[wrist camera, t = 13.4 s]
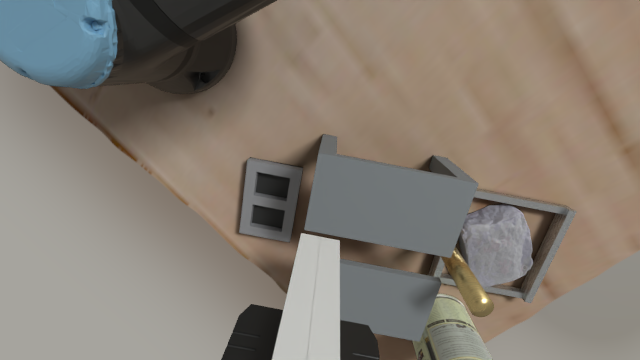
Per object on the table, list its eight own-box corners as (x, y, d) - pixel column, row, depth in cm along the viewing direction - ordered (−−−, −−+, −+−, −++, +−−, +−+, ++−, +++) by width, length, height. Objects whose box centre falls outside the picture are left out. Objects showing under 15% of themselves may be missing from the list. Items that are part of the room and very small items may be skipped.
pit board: (250, 157, 47) (247, 160, 46) (303, 167, 47) (302, 170, 46) (242, 228, 51) (239, 232, 50) (291, 237, 51) (289, 242, 50)
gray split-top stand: (323, 133, 45) (318, 152, 35) (446, 157, 46) (478, 183, 35) (297, 268, 53) (287, 316, 43) (403, 288, 53) (419, 341, 43)
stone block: (505, 193, 49) (446, 219, 48) (530, 204, 44) (464, 232, 44) (518, 256, 52) (463, 280, 52) (542, 273, 48) (481, 299, 47)
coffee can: (473, 332, 55) (516, 415, 42) (415, 346, 57) (439, 431, 44) (459, 285, 52) (500, 358, 39) (398, 302, 54) (418, 377, 41)
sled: (444, 182, 46) (498, 239, 31) (566, 205, 46) (682, 274, 31) (414, 273, 52) (446, 362, 36) (523, 294, 52) (604, 391, 36)
